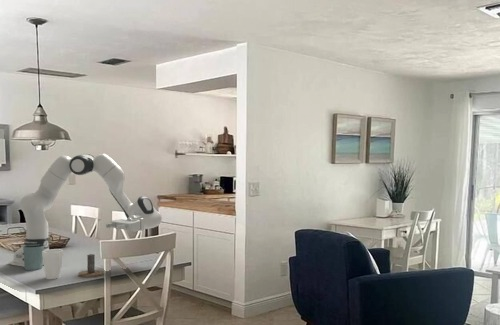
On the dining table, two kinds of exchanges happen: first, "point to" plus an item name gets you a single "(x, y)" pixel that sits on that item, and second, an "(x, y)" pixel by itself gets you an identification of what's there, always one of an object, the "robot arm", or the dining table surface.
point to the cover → (91, 268)
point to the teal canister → (33, 257)
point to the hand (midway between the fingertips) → (111, 226)
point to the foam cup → (52, 263)
